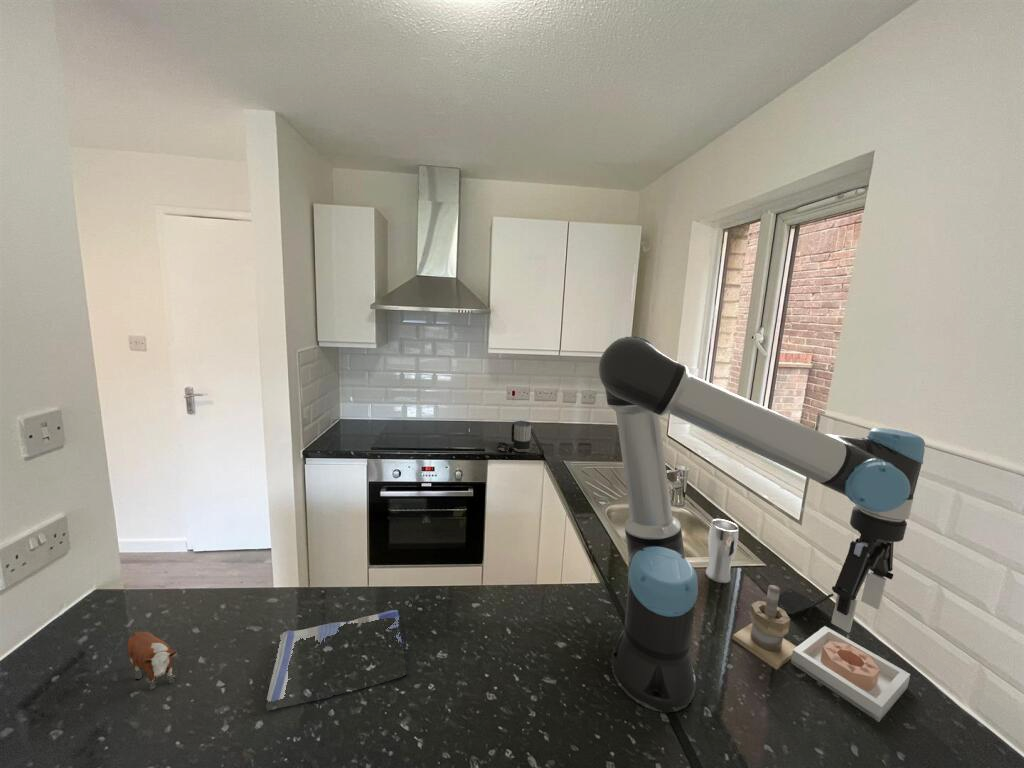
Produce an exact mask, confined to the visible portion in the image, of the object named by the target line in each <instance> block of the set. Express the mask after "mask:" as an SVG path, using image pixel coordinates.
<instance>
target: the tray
mask: <svg viewBox="0 0 1024 768" xmlns="http://www.w3.org/2000/svg"><path fill="white" fill-rule="evenodd" d="M829 641H834V642H839V643H844V644H849V645H851V646H853V647H854V648H856V649H858V650H860V651H861V652H863V653H865V654H866V655H868V656H870V658H871V659H872V660H873V661H874V663H875V664H876V665H877V667H878V668H879V669H880V672H879V677H878V682H877V684H876V685H875V686H874V687H873V689H872V690H871V691H867V690H863V689H860V688H859V687H857V686H856V685H854V684H852V683H851V682H849V681H848V680H846V679H845V678H843V677H841V676H840V675H838V674H837V673H835V672H834V671H832V670H830V669H829V668H827V667H826V666H824V665H823V663H822V661H821V654H822V649H823V646H824V645H826V644H827V643H828V642H829ZM796 646H797V647H796V648H795V649H793V652H792V658H791V659H790V663H791V664H792V665H793V666H795V667H796V668H797V669H799V670H800V671H802V672H804V673H806V675H808V676H810V677H811V678H812V679H814V680H815V681H817V682H818V683H820V684H821V685H823V686H825V688H828V689H829V691H832V692H833V693H835V694H836V695H837V696H840V697H841V698H843V699H844V700H845V701H847V703H850V704H851V705H853V706H854V707H855V708H857V709H859V710H860V711H862V712H863V713H864V714H866V715H868V716H869V717H871V718H872V719H873V720H875V721H877V722H878V723H880V721H881V720H883V718H884V716H886V715H887V713H888V712H889V711H890V710H891V708H892V707H893V706H894V705H895V703H896V702H897V701H898V699H900V698H901V696H902V695H903V694H904V692H905V691H906V690H907V689H908V687H909V682H910V678H911V673H909V672H907V671H906V670H904V669H902V668H901V667H898V666H897V665H895V664H894V663H891V662H890V661H888V660H886V659H884V658H882V657H881V656H880V655H877V654H876V653H874V652H872V651H870V650H868V649H866V648H865V647H863V646H861V645H859V644H858V643H856V642H854V641H852V640H851V639H849V638H847V637H845V636H844V635H842V634H840V633H839V632H837V631H835V630H833V629H832V628H830V627H827V626H826V625H824V626H823V627H821V628H820V629H818V631H816V632H814V633H813V634H812V635H810V636H809V637H808V638H807V639H805V640H804V641H803V642H801V643H800V644H799V645H796Z"/></svg>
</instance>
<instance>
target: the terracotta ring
mask: <svg viewBox="0 0 1024 768" xmlns="http://www.w3.org/2000/svg"><path fill="white" fill-rule="evenodd" d="M821 661H822V663H823V665H824V666H826V667H827V668H829V669H830V670H832V671H834V672H835V673H837V674H838V675H840V676H841V677H843V678H845V679H846V680H848V681H849V682H851V683H852V684H854V685H856V686H857V687H859V688H860V689H863V690H867V691H871V690H872V689H873V687H874V686H875V685H876V684H877V682H878V677H879V672H880V669H879V668H878V667H877V665H876V664H875V663H874V661H873V660H872V659H871V658H870V656H868V655H866V654H865V653H863V652H861V651H860V650H858V649H856V648H854V647H853V646H851V645H849V644H844V643H839V642H834V641H829V642H828V643H827V644H826V645H824V646H823V649H822V654H821Z"/></svg>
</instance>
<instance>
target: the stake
mask: <svg viewBox="0 0 1024 768" xmlns="http://www.w3.org/2000/svg"><path fill="white" fill-rule="evenodd" d="M780 592H781V589H780V588H779V586H777V585H773V584H768V587H767V595H766V601H765V602H766V606H765V612H764V614H765V615H766V616H768V617H770V618H776V611H777V605H778V599H779V594H781V593H780ZM732 640H733V641H734V642H737V643H738V644H739V645H741V646H742V647H743V648H745V649H746V650H748V651H749V652H750V653H752V654H753V655H755V656H757V658H759V659H760V660H762V661H763V662H765V663H766V664H767V665H769V666H770V667H772V668H773V669H774V670H778V669H780V668H781V667H782V666H784V665H785V664H786V663H788V662H789V661H791V658H792V652H793V649H795V648H796V647H797V646H798V645H795V644H793V643H791V641H789V640H787V639H785V638H784V636H782V637H778V636H773V635H768V634H766V633H764V632H763V631H761V630H760V629H758V628H757V627H755V626H754V625H753V623H752V622H751V623H749V624H748V625H746V626H745V627H743V628H742V629H740V630H739V631H738V630H737V632H735V633H734V634H732Z"/></svg>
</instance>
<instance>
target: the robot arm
mask: <svg viewBox="0 0 1024 768" xmlns="http://www.w3.org/2000/svg"><path fill="white" fill-rule="evenodd" d="M598 364H599V365H598V375H599V378H600V382H601V383H602V385H603V387H604V390H605V397H606V403H607V404H606V405H607V406H608V407H609V408H611V409H612V410H613V411H614V412H615V415H616V422H617V431H618V436H619V445H620V451H621V459H622V467H623V473H624V474H623V475H624V481H625V487H626V495H627V502H628V503H627V504H628V509H629V518H627V519H626V521H625V523H624V531H625V532H624V533H625V538H626V547H627V553H628V555H627V557H628V565H627V566H628V567H627V568H628V569H627V570H628V573H627V577H628V579H627V595H626V604H625V605H626V607H625V616H624V627H623V630H622V632H621V633H620V636H619V638H618V639H617V641H616V643H615V645H614V647H613V649H612V654H611V661H612V667H613V670H614V673H615V675H616V677H617V678H618V680H619V682H620V683H621V684H622V686H623V687H624V688H625V689H626V690H627V691H628V692H629V693H630V694H631V695H632V696H633V697H635V698H636V699H638V700H640V701H642V702H645V703H647V704H649V705H650V706H652V707H654V708H656V709H658V710H661V711H663V712H662V713H665V714H667V713H668V714H670V713H669V711H670V709H671V708H672V707H675V708H677V707H681V706H685V705H687V704H688V703H689V702H691V700H692V699H693V700H694V698H693V697H695V694H694V693H695V692H696V686H697V683H696V682H697V680H696V678H697V677H696V675H695V674H696V673H695V670H694V667H693V663H692V659H691V653H690V647H691V646H690V645H691V639H692V631H693V624H694V616H695V608H696V601H697V599H698V593H699V587H698V575H697V572H696V570H695V568H694V566H693V565H692V563H691V562H690V561H689V560H688V559H687V558H686V555H685V547H684V540H683V539H684V538H683V533H682V531H683V530H682V525H681V522H680V520H679V519H678V518H676V517H675V516H673V515H672V513H673V512H672V507H671V498H670V490H669V489H670V488H669V481H668V475H667V467H666V460H665V459H666V458H665V451H664V450H665V449H664V444H663V443H664V442H663V435H662V429H661V427H662V426H661V420H660V416H665V415H672V416H673V417H676V418H678V419H680V420H682V421H685V422H687V423H689V424H692V425H694V426H696V427H698V428H700V429H702V430H704V431H707V432H708V433H711V434H713V435H715V436H718V437H719V438H722V439H724V440H726V441H727V442H731V443H732V444H734V445H737V446H739V447H741V448H744V449H745V450H748V451H749V452H752V453H754V454H757V456H761V457H763V458H765V459H767V460H769V461H771V462H774V463H776V464H778V465H779V466H783V467H784V468H786V469H788V470H791V471H793V472H794V473H795V472H796V473H797V474H800V475H801V476H803V477H806V478H808V479H810V480H812V481H814V482H816V483H819V484H820V485H822V486H824V487H826V488H829V489H830V490H833V491H834V492H837V493H839V494H842V495H843V496H845V497H847V498H848V499H849V500H850V501H851V502H852V503H853V504H854V505H855V506H853V507H852V511H851V515H850V520H849V524H850V526H851V527H852V529H854V530H855V531H857V532H858V533H859V534H860V536H859V538H858V537H857V538H856V539H855V541H854V540H852V541H851V542H850V543H849V549H848V552H847V555H846V557H845V559H844V563H843V565H842V567H841V570H840V573H839V575H838V577H837V579H836V583H835V585H832V586H831V587H832V588H831V590H832V592H833V594H836V595H837V596H836V600H835V604H834V607H833V613H832V617H831V622H830V623H831V624H832V625H834V626H836V627H838V628H839V629H841V630H843V631H845V632H846V633H848V634H849V633H850V632H851V630H852V625H853V622H854V618H855V613H856V608H857V605H858V601H859V599H858V598H857V596H858V594H859V591H860V590H861V587H862V586H863V583H864V586H863V590H862V595H861V599H860V601H861V603H864V604H865V605H868V606H870V607H872V608H873V609H876V610H879V609H880V608H881V602H882V599H883V594H884V590H885V586H886V581H887V579H889V580H892V579H893V577H894V573H892V571H893V570H894V569H893V559H894V543H898V542H901V541H903V540H904V537H905V533H906V529H907V525H908V523H907V521H906V520H908V519H909V518H910V514H911V511H912V506H913V502H914V494H915V491H916V488H917V484H918V481H919V477H920V476H919V475H920V473H921V468H922V465H923V464H924V456H925V446H926V442H925V439H924V438H922V436H919V435H917V434H914V433H911V432H907V431H903V430H898V429H892V428H886V427H885V428H884V427H882V428H881V427H873V428H871V430H869V432H868V434H867V435H866V437H855V436H853V437H852V436H846V435H839V434H832V433H824V432H821V431H819V430H816V429H814V428H812V427H810V426H809V425H805V424H803V423H801V422H798V421H796V420H793V419H792V418H789V417H787V416H786V415H782V414H781V413H778V412H777V411H773V410H772V409H769V408H767V407H765V406H762V405H760V404H758V403H756V402H753V401H752V400H749V399H747V398H745V397H742V396H740V395H738V394H736V393H733V392H731V391H729V390H727V389H724V388H722V387H719V386H717V385H715V384H714V383H713V384H712V382H711V383H710V382H708V381H706V380H704V379H701V378H699V377H697V376H694V375H693V374H691V373H690V372H689V369H688V366H687V365H684V364H682V363H681V362H678V361H675V360H674V359H671V358H670V357H668V356H667V355H665V354H664V353H663V352H661V351H659V350H658V349H657V348H656V346H655V345H653V343H651V342H650V341H649V340H647V339H645V338H643V337H640V336H626V337H621V338H618V339H617V340H615V341H613V342H612V343H611V344H610V345H609V346H608V347H607V348H606V349H605V350H604V352H603V353H602V355H601V358H600V359H599V363H598ZM691 703H692V702H691Z"/></svg>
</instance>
